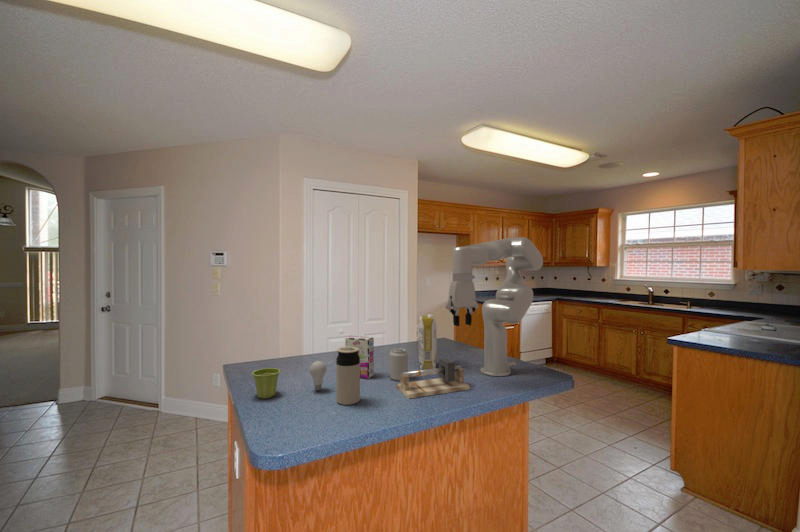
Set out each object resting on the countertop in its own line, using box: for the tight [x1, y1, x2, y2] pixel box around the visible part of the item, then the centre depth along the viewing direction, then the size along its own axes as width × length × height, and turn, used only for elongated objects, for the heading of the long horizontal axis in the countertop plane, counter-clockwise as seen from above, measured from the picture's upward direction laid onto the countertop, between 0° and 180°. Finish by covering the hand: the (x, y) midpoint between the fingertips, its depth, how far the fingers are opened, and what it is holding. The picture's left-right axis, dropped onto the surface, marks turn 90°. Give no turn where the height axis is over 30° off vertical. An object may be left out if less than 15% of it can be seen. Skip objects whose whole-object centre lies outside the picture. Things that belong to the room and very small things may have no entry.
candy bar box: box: [345, 335, 375, 380], centre depth 152 cm, size 11×5×16 cm, turn 68°
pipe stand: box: [395, 368, 471, 400], centre depth 137 cm, size 25×12×6 cm, turn 112°
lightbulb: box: [309, 360, 328, 392], centre depth 134 cm, size 6×6×11 cm
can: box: [389, 347, 409, 382], centre depth 149 cm, size 8×8×12 cm
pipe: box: [402, 364, 463, 378], centre depth 137 cm, size 24×2×2 cm, turn 112°
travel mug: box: [335, 346, 361, 406], centre depth 124 cm, size 8×8×18 cm
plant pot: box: [251, 367, 281, 399], centre depth 130 cm, size 9×9×9 cm
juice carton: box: [417, 314, 437, 370], centre depth 165 cm, size 9×8×24 cm
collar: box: [438, 357, 456, 382], centre depth 139 cm, size 3×7×7 cm, turn 22°
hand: (462, 324), depth 141 cm, fingers open, 4 cm apart
